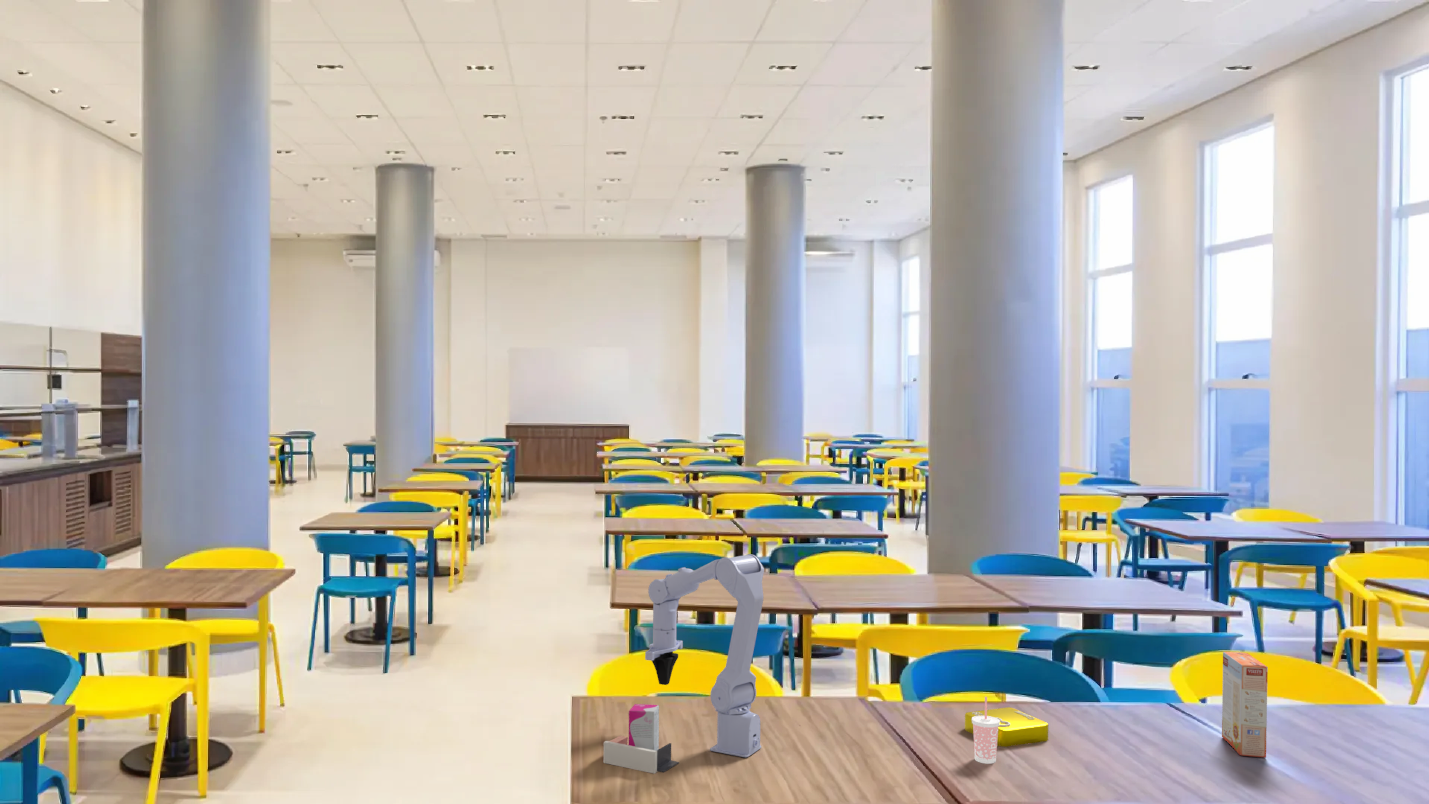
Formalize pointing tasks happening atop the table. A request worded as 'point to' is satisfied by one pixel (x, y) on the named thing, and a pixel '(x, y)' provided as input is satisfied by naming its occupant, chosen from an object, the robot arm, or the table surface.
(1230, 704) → the cracker box
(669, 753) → the bookend
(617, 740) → the pink rectangular block
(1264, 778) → the table surface
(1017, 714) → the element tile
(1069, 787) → the table surface
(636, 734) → the supplement box
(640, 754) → the shelf wall
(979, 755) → the beverage cup
